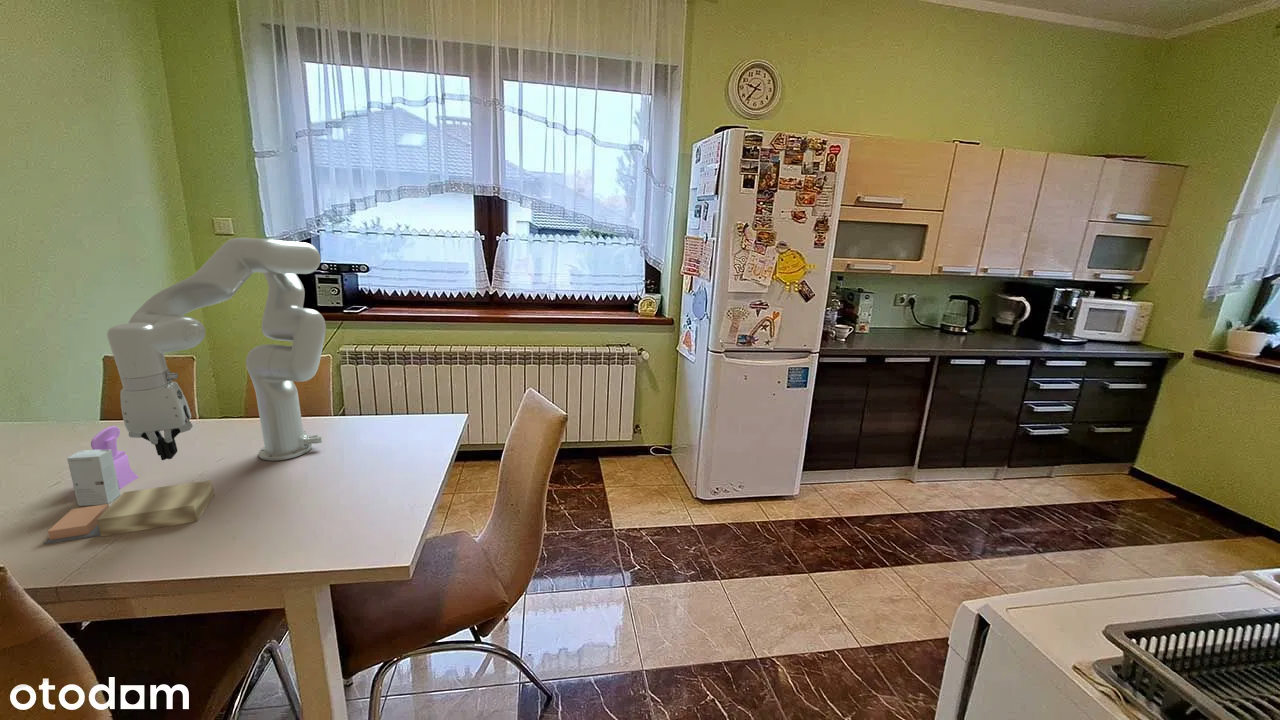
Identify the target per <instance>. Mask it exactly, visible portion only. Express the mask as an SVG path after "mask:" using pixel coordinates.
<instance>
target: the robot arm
mask: <svg viewBox="0 0 1280 720" xmlns="http://www.w3.org/2000/svg"><path fill="white" fill-rule="evenodd" d="M321 259H322V258H321V255H320V252H319V250H318V249H317V248H316V247H315V246H314V245H313V244H312V243H308V242H304V241H303V242H302V241H290V240H289V241H288V240H280V239H278V240H277V239H270V238H257V237H255V238H252V237H234V238H230V239H228V240H227V241H225V242H224V243H222V245H221V246H220V247H219V248H218V249H217V250H216V251H215V253H213V254H212V255H211V256H210V257H209V258H208V260H206V262H204V264H203V265H202V266H201V267H200V268H198V269H197V271H196V272H195V273H193V274H192V275H191V276H189V277H187V278H185V279H182V280H180V281H179V282H176V283H175V284H172V285H170V286H169V287H166V288H165V289H162V290H160V291H159V292H157V293H155V294H153V295H152V296H151V297H150V298H149V299H148V300H146V301H145V302H144V303H143V304H142V305H141V306H140V307H139V308H138V309H137V311H136V312H134V313H133V315H132V316H131V317H130V319H129V320H128V322H127V323H121V324H117V325H114V326H111V327H110V328H109V329H108V330H107V333H106V335H107V339H108V343H109V346H110V349H111V352H112V355H113V359H114V362H115V365H116V369H117V371H118V372H117V373H118V375H119V377H120V382H121V384H122V385H121V386H122V389H120V393H119V395H120V408H121V414H122V419H123V423H124V426H125V429H126V431H127V432H128V437H129V438H134V439H135V438H136V439H138V438H139V439H141V438H142V439H145V440H146V441H149V442H150V443H151V444H152V445H154V446H155V450H156V453H157V455H158V456H160V460H161V461H166V460H172V459H173V458H174V457H175V455H176V454H177V452H178V446H177V444H176V440H175V438H177V436H178V435H179V434H181V433H185V432H188V431H190V430H191V429H193V423H191V421H190V420H191V418H192V412H191V410H190V406H189V404H188V401H187V399H186V397H185V395H184V392H183V390H182V389H181V387H180V385H179V384H178V382H177V381H176V380H177V379H179V375H178V373H177V372H171V371H170V369H169V368H168V365H167V361H166V358H165V354H166V353H172V352H175V351H176V352H177V351H178V352H179V351H184V350H189V349H192V348H195V347H196V346H198V345H200V344H201V343H202V342H203V341H204V339H205V337H206V329H205V326H204V325H203V323H202V322H201V321H199V320H198V319H196V318H194V317H191V316H187V315H186V314H188V313H190V312H192V311H195V310H197V309H201V308H206V307H209V306H213V305H217V304H219V303H220V304H221V303H223V302H226V301H228V300H230V299H232V298H233V296H234V295H235V294H236V293H237V292H238V291H239V290H240V288H241V287H243V285H244V284H245V283H246V281H247V280H248V279H249V278H250V277H251V276H252V275H253V274H255V273H262V274H263V275H264V277H265V280H266V282H267V285H268V292H267V297H266V302H265V307H264V310H263V314H262V319H261V332H262V334H263V335H264V336H265V337H266V338H268V339H270V340H275V341H282V342H283V341H285V342H292V345H285V344H270V343H267V344H266V343H265V344H260V345H257V346H255V347H253V348H252V349H250V350H249V352H248V353H247V354H246V358H245V367H246V370H247V372H248V375H249V377H250V379H251V382H252V385H253V388H254V391H255V396H256V402H257V403H256V404H257V409H258V415H259V421H260V428H261V433H262V439H263V445H264V446H263V447H262V448H261V449H260V450H259V451H258V456H259V458H260V459H262V460H265V461H270V462H271V461H284V460H290V459H294V458H297V457H299V456H302V455H304V454H306V453H309V451H311V449H312V444H315V445H317V444H322V443H323V436H322V435H320V436H319V434H313V435H312V434H311V435H309V434H307V431H306V430H304V428H303V420H302V413H301V407H300V400H299V394H298V389H297V386H296V384H295V383H294V382H307V381H309V380H312V378H314V377H315V375H316V373H317V371H318V369H319V366H320V362H321V359H322V358H321V357H322V353H323V349H324V342H325V338H326V331H327V325H326V321H325V318H324V316H323V315H322V314H321V313H320V312H319V311H318V310H316V309H313V308H308V307H304V303H305V297H306V296H305V293H306V291H305V288H304V284H303V283H302V281H301V279H300V278H299V276H298V275H299V274H300V275H308V274H312V273H315V272H316V271H317V269H318V268H319V267H320V265H321ZM174 380H175V381H174ZM161 431H163V434H162V432H161ZM163 435H164V436H163Z"/></svg>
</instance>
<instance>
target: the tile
mask: <svg viewBox="0 0 1280 720" xmlns="http://www.w3.org/2000/svg"><path fill="white" fill-rule="evenodd" d="M109 504H110V503H108V504H103V505H89V506H85V507H77V508H72V509H71V510H69V512H67V513H66V514H65V515H64V516H63V517H62V518H61V519H59V520H58V521H57V522H56V523H54V525H53V526H52V527H51V528H49V529H48V530H47V536H48V538H50V540H52V539H59V538H65V537H71V536H78V535H84V534H89V533H90V532H91V531H92V530H93V529H94V528H95V527H96V526H97V525H98V522H97V519H98V518H99V517H100V516H101V515H102V514H103V513H104V512H105V511H106V510H107V509H108V508H109V507H110V505H109Z"/></svg>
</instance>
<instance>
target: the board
mask: <svg viewBox="0 0 1280 720" xmlns="http://www.w3.org/2000/svg"><path fill="white" fill-rule="evenodd" d="M214 497H215V491H214V485H213V481H212V480H205V481H196V482H189V483H183V484H175V485H168V486H167V485H166V486H159V487H151V488H145V489H139V490H138V489H137V490H129V491H124V492H123V493H121V494H120V496H119V497H117V498H116V499H115V500H114V501H113V503H112V504H111V505H109V508H108V509H107V510H106V511H105V512H104V513H103V514H102V515H101V516H100V517H99V518H98V519H97V522H98V526H99V530H100V533H101V537H107V536H112V535H113V536H114V535H119V534H120V535H121V534H125V533H132V532H139V531H144V530H152V529H157V528H163V527H164V528H165V527H169V526H176V525H183V524H189V523H195V522H198V521H199V519H200V518H201V517H202V515H203V513H204V512H205V511H206V509H207V507H208V506H209V504H210V503H211V501H212V500H213V498H214Z"/></svg>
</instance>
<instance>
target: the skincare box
mask: <svg viewBox="0 0 1280 720" xmlns="http://www.w3.org/2000/svg"><path fill="white" fill-rule="evenodd" d="M66 460H67V463H68V468H69V472H70V476H71V481H72V482H71V483H72V486H73V489H74V494H75V499H76V503H77V505H78V507H81V506H97V505H104V504H111V502H114V501H116V500H117V499H118V498H119V497H120V496H121V491H120V489H119V486H118V481H117V476H116V471H115V466H114V461H113V456H112V451H111V450H93V449H90V450H89V449H88V450H87V449H86V450H84V449H83V450H82V449H81V450H79V451H77V452H76V453H74V454H72V455H70V456H68V457H67V459H66Z"/></svg>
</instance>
